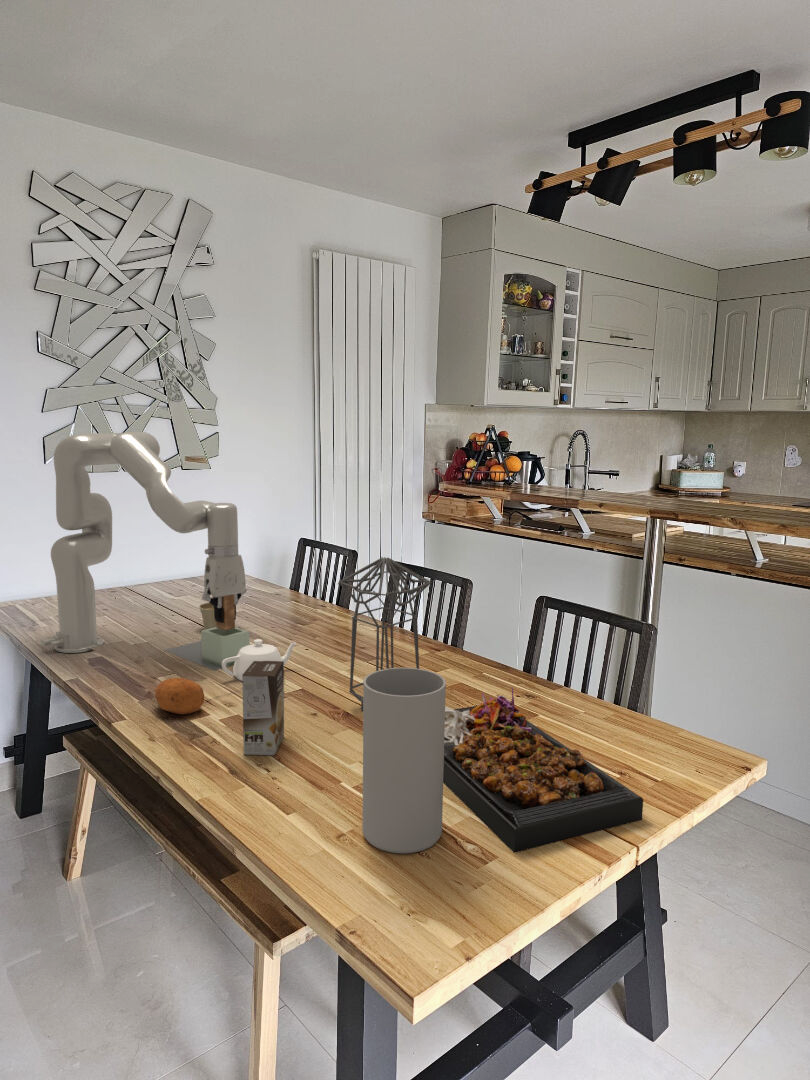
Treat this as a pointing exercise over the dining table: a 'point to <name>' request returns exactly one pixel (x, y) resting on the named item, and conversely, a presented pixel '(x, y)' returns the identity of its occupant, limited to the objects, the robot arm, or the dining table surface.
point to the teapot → (254, 657)
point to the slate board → (193, 654)
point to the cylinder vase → (403, 758)
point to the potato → (179, 695)
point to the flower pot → (208, 615)
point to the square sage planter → (223, 644)
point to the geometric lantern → (399, 574)
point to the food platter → (528, 779)
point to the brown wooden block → (227, 613)
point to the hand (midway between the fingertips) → (225, 619)
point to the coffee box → (263, 707)
